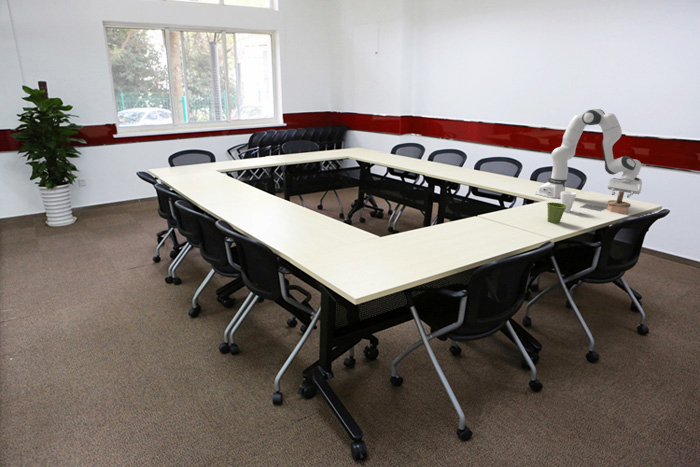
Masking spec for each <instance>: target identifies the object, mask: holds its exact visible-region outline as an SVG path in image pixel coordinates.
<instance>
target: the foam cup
mask: <svg viewBox="0 0 700 467" xmlns="http://www.w3.org/2000/svg"><path fill="white" fill-rule="evenodd" d="M576 197H577V193H576V192H575V191H568V190H565V191H562V192H561V198H560V201H559V202H560V203H561V204H564V205H567V207H566V209H565V211H564V213H570V212H571V209H572V208H573V204H574V202H575V199H576Z"/></svg>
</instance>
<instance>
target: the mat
mask: <svg viewBox="0 0 700 467" xmlns="http://www.w3.org/2000/svg"><path fill="white" fill-rule="evenodd" d="M580 208H582V209H587V210H592V211H596V212H602V211H605V210H607V207H605V206H599V205H594V204H588V203H586V204H583V205H580Z"/></svg>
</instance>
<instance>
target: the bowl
mask: <svg viewBox="0 0 700 467" xmlns="http://www.w3.org/2000/svg"><path fill="white" fill-rule="evenodd" d="M629 209H630V207H617V206H612V205H609V204H608V203H607V207H606V210H607V211H609V212H610V213H615V214H628V212H629Z"/></svg>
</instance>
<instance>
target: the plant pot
mask: <svg viewBox="0 0 700 467" xmlns="http://www.w3.org/2000/svg"><path fill="white" fill-rule="evenodd" d="M546 205H547V222H548V223H549V222H550V223H552V224H559V223H560V222H561V219H562V217H563V214H564V213H565V212H564V211H565V209H566V207H567V205H564V204H561V203H559V202H554V201H553V202H547V203H546Z"/></svg>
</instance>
